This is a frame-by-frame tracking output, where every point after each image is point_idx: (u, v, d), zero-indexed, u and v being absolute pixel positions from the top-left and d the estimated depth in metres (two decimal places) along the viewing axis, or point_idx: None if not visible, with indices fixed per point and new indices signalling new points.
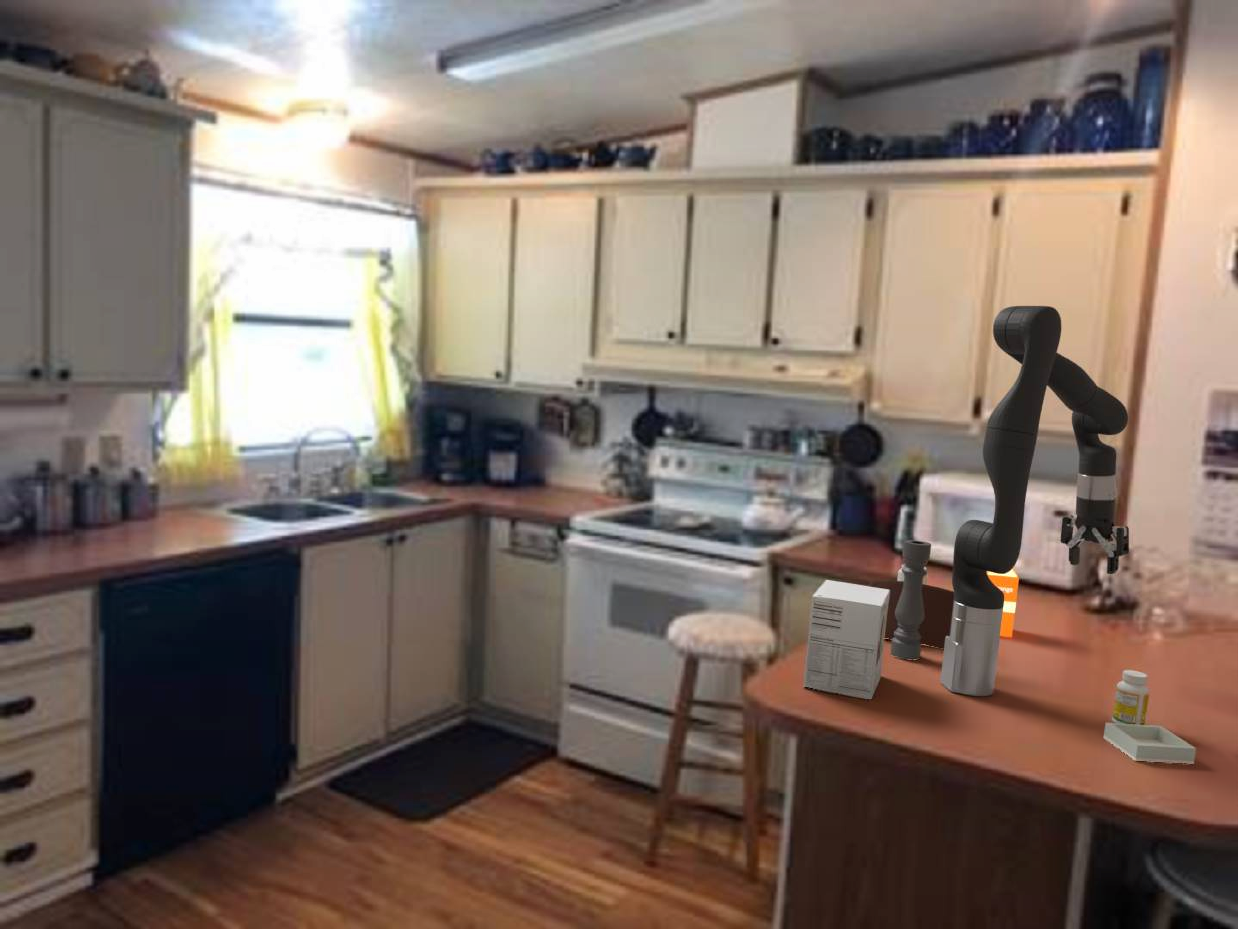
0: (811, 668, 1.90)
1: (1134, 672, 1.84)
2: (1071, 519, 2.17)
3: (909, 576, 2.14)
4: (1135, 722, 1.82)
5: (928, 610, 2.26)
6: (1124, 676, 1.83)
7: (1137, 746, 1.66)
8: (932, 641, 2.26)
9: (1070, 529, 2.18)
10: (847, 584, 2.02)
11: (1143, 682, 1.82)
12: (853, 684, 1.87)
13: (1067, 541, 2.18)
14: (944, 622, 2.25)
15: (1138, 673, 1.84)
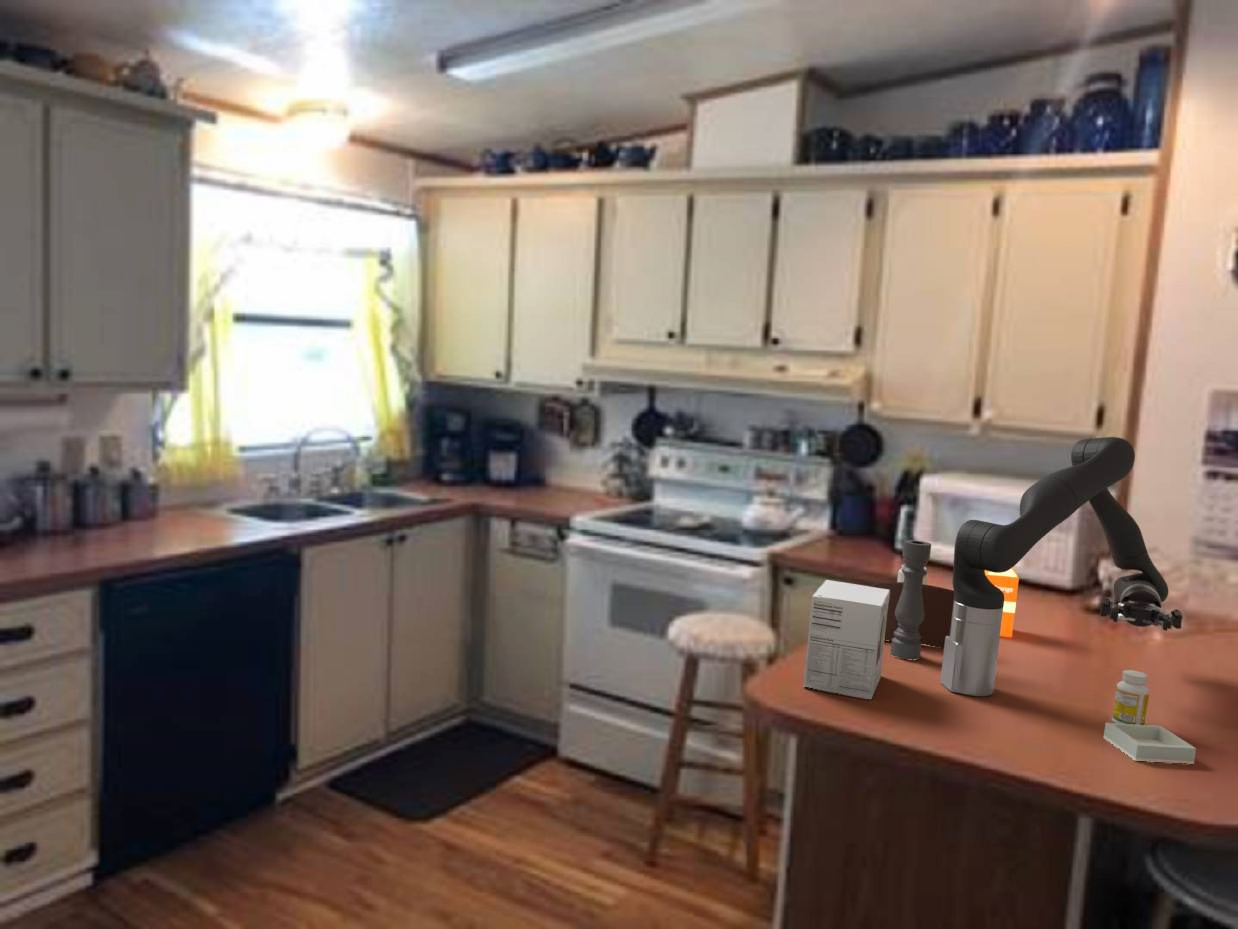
0: (811, 668, 1.90)
1: (1134, 672, 1.84)
2: None
3: (909, 576, 2.14)
4: (1135, 722, 1.82)
5: (931, 610, 2.26)
6: (1124, 676, 1.83)
7: (1137, 746, 1.66)
8: (935, 641, 2.26)
9: None
10: (847, 584, 2.02)
11: (1143, 682, 1.82)
12: (853, 684, 1.87)
13: (1108, 607, 1.99)
14: (947, 621, 2.25)
15: (1138, 673, 1.84)
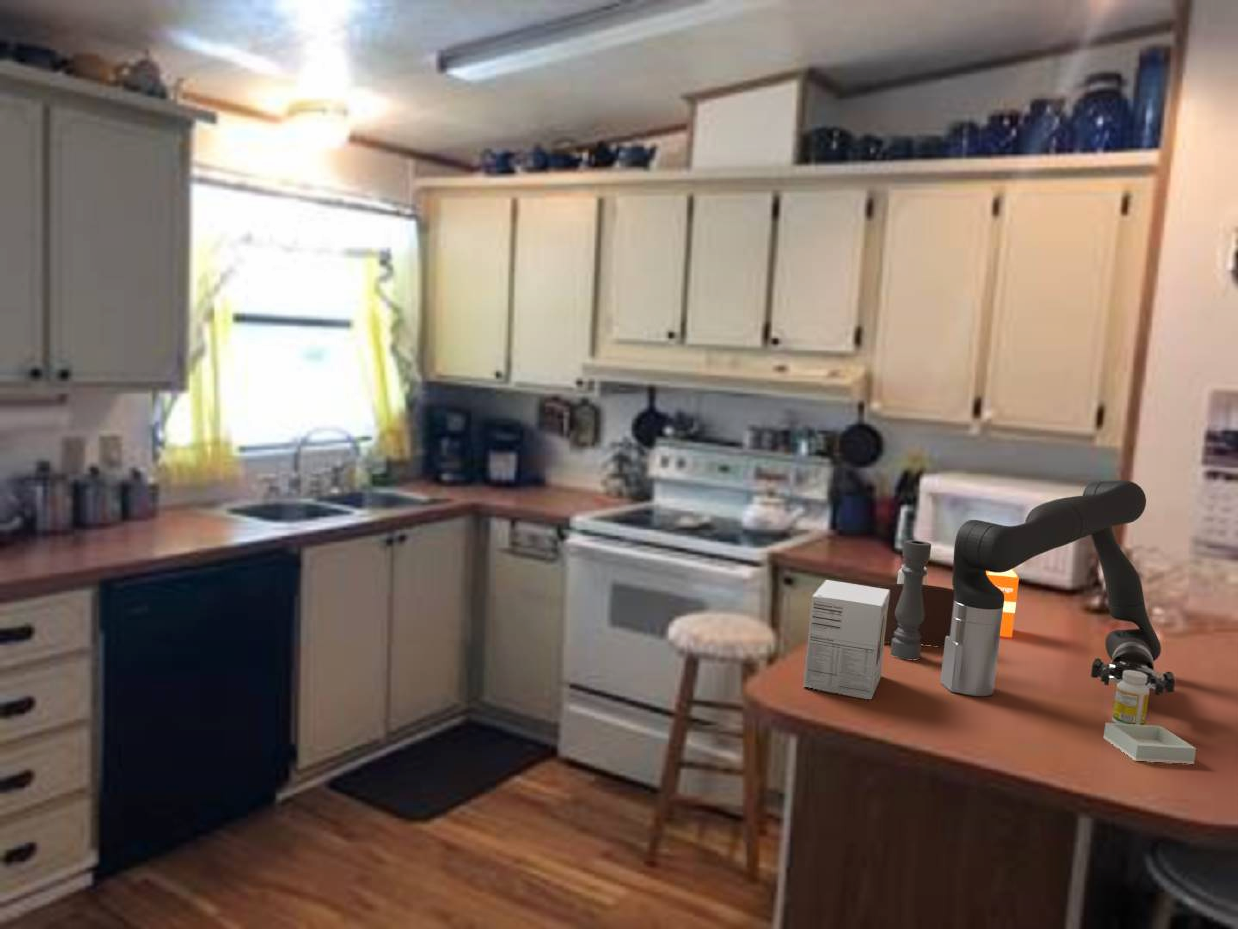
0: (811, 668, 1.90)
1: (1134, 672, 1.84)
2: (1103, 664, 1.99)
3: (909, 576, 2.14)
4: (1135, 722, 1.82)
5: (935, 611, 2.26)
6: (1124, 676, 1.83)
7: (1137, 746, 1.66)
8: (939, 641, 2.26)
9: None
10: (847, 584, 2.02)
11: (1143, 682, 1.82)
12: (853, 684, 1.87)
13: (1099, 668, 1.95)
14: (950, 621, 2.26)
15: (1138, 673, 1.84)
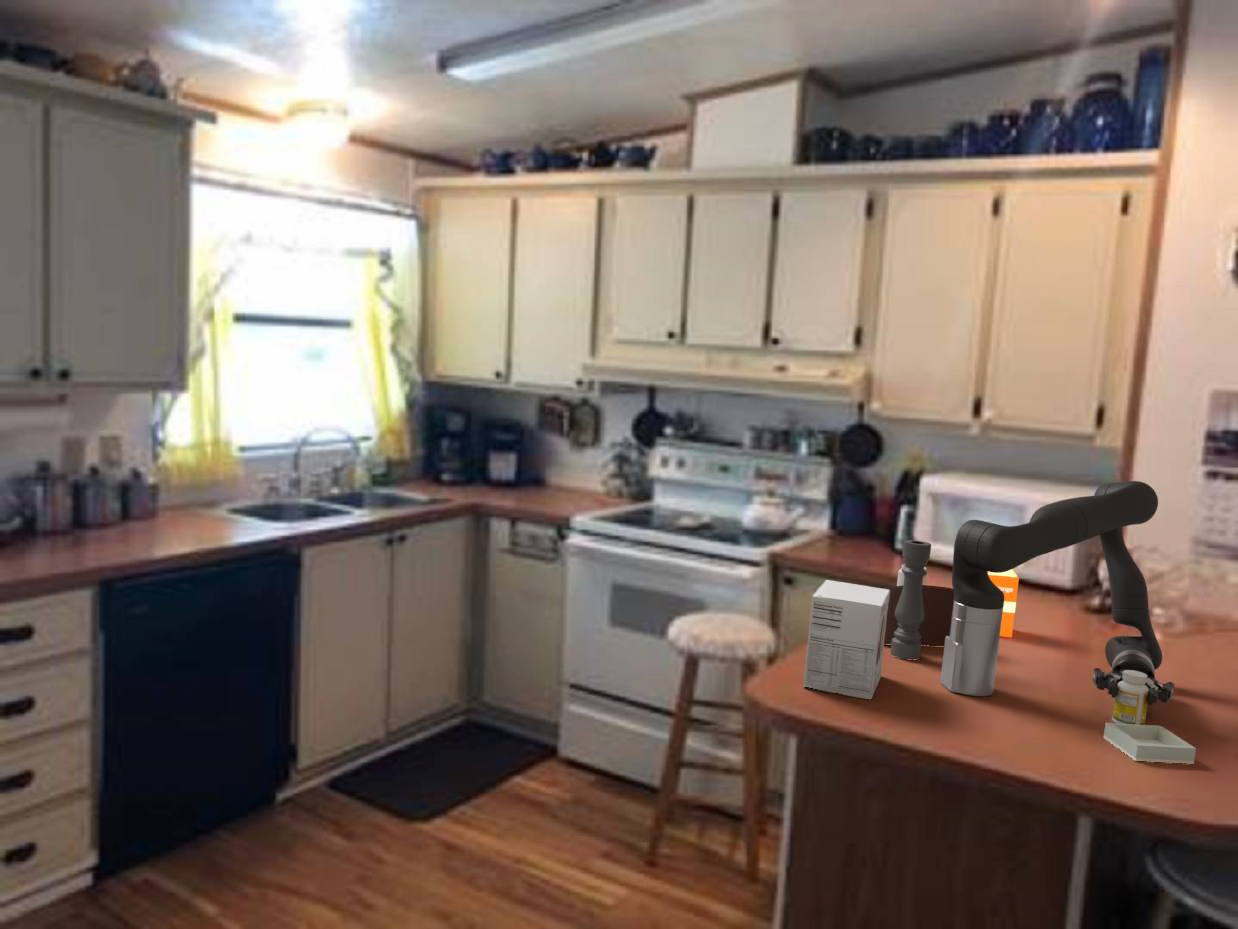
0: (811, 668, 1.90)
1: (1134, 672, 1.84)
2: None
3: (909, 576, 2.14)
4: (1135, 722, 1.82)
5: (938, 611, 2.26)
6: (1124, 676, 1.83)
7: (1137, 746, 1.66)
8: (942, 641, 2.27)
9: None
10: (847, 584, 2.02)
11: (1143, 682, 1.82)
12: (853, 684, 1.87)
13: (1106, 679, 1.88)
14: None
15: (1138, 673, 1.84)
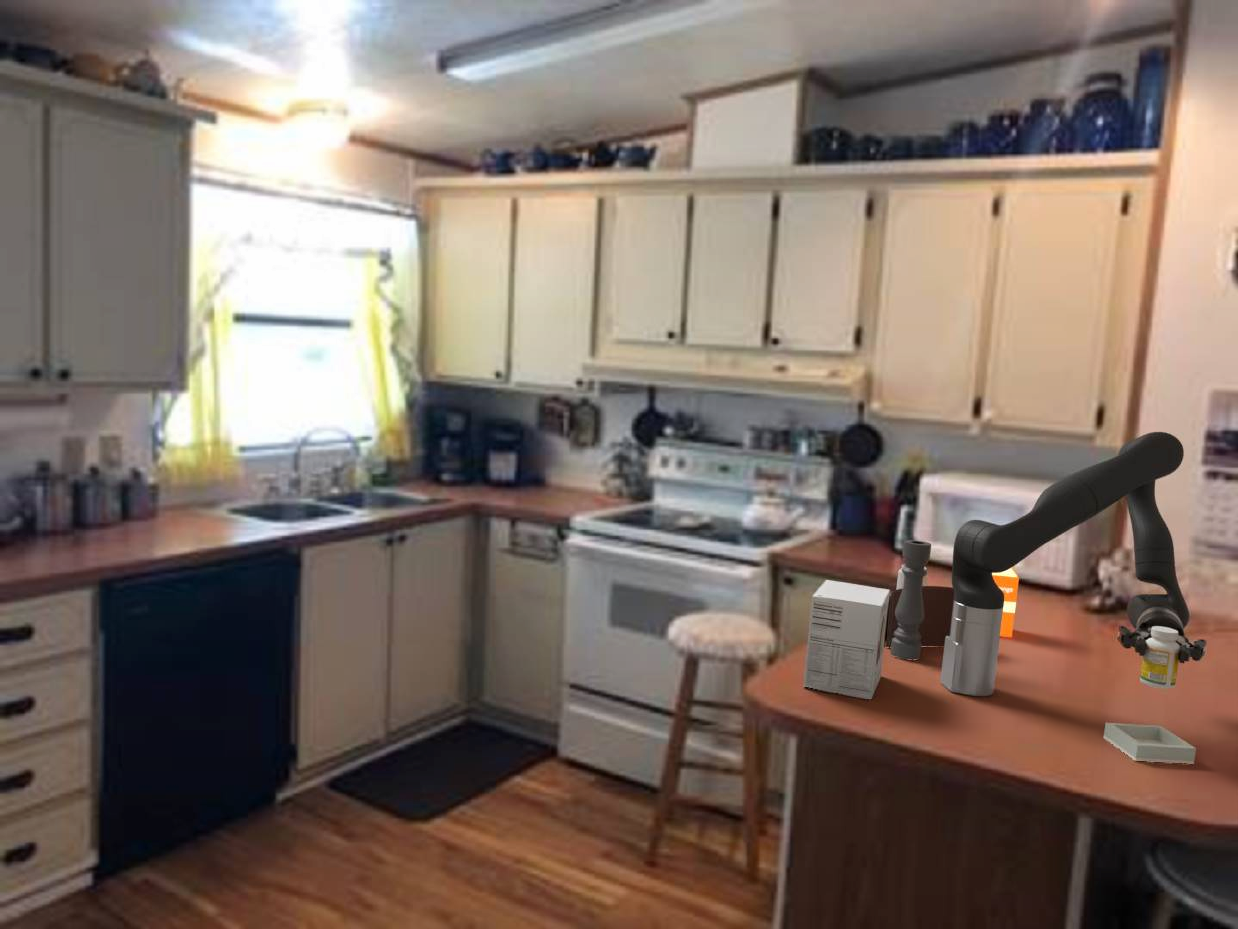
0: (810, 668, 1.90)
1: (1163, 628, 1.70)
2: None
3: (909, 576, 2.14)
4: (1166, 682, 1.67)
5: (942, 611, 2.26)
6: (1153, 632, 1.69)
7: (1137, 746, 1.66)
8: None
9: None
10: (847, 584, 2.02)
11: (1174, 638, 1.67)
12: (853, 684, 1.87)
13: (1133, 637, 1.74)
14: None
15: (1168, 629, 1.69)
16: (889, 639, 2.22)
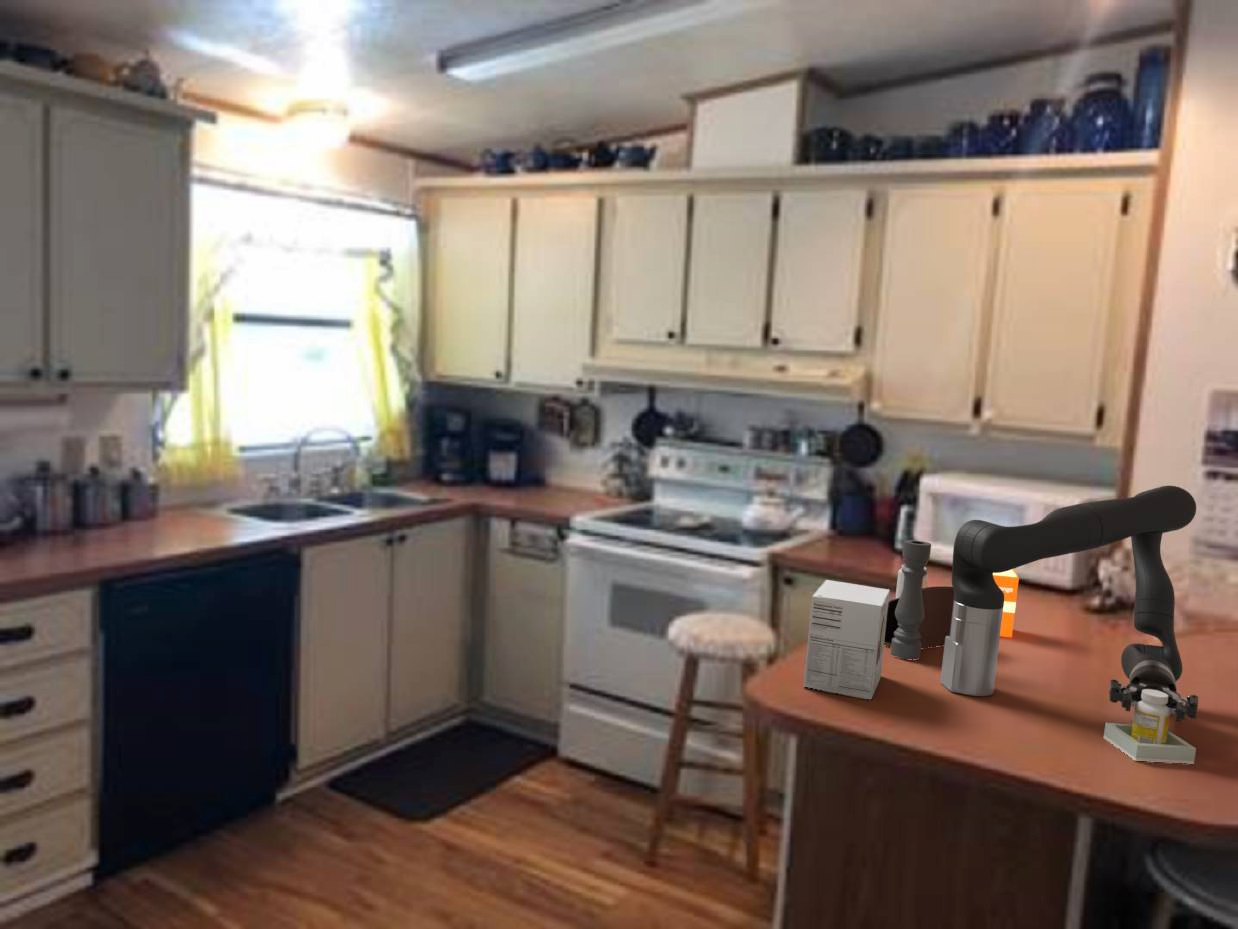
0: (811, 668, 1.90)
1: (1154, 691, 1.71)
2: (1120, 685, 1.80)
3: (909, 576, 2.14)
4: None
5: (945, 611, 2.27)
6: (1143, 696, 1.70)
7: (1137, 746, 1.66)
8: None
9: None
10: (847, 584, 2.02)
11: (1164, 702, 1.69)
12: (853, 684, 1.87)
13: (1120, 691, 1.75)
14: None
15: (1158, 692, 1.71)
16: None
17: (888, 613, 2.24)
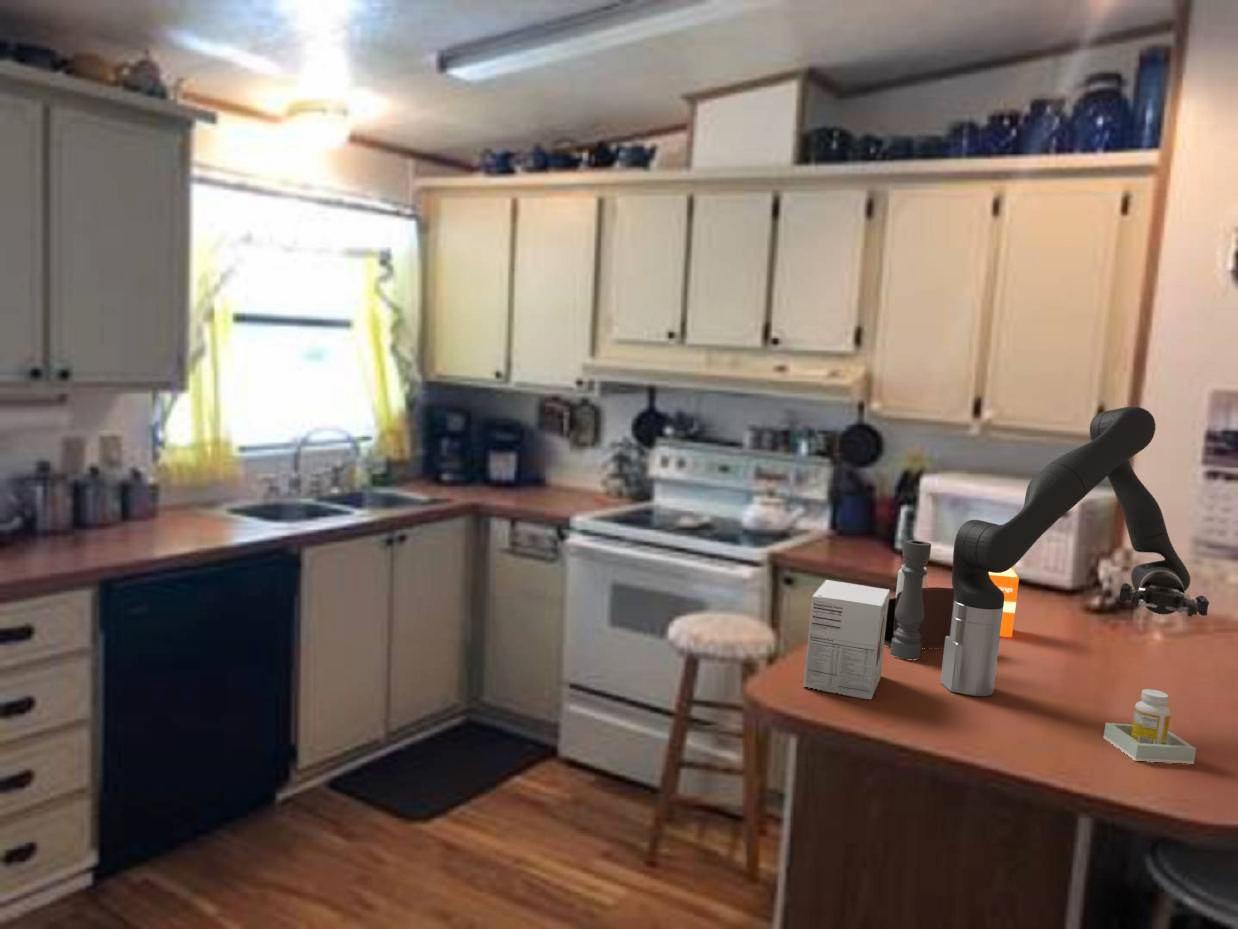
0: (811, 668, 1.90)
1: (1154, 691, 1.71)
2: (1132, 589, 1.90)
3: (909, 576, 2.14)
4: None
5: (947, 612, 2.25)
6: (1143, 696, 1.70)
7: (1137, 746, 1.66)
8: None
9: None
10: (847, 584, 2.02)
11: (1164, 702, 1.68)
12: (853, 684, 1.87)
13: (1128, 591, 1.85)
14: None
15: (1158, 692, 1.71)
16: None
17: None
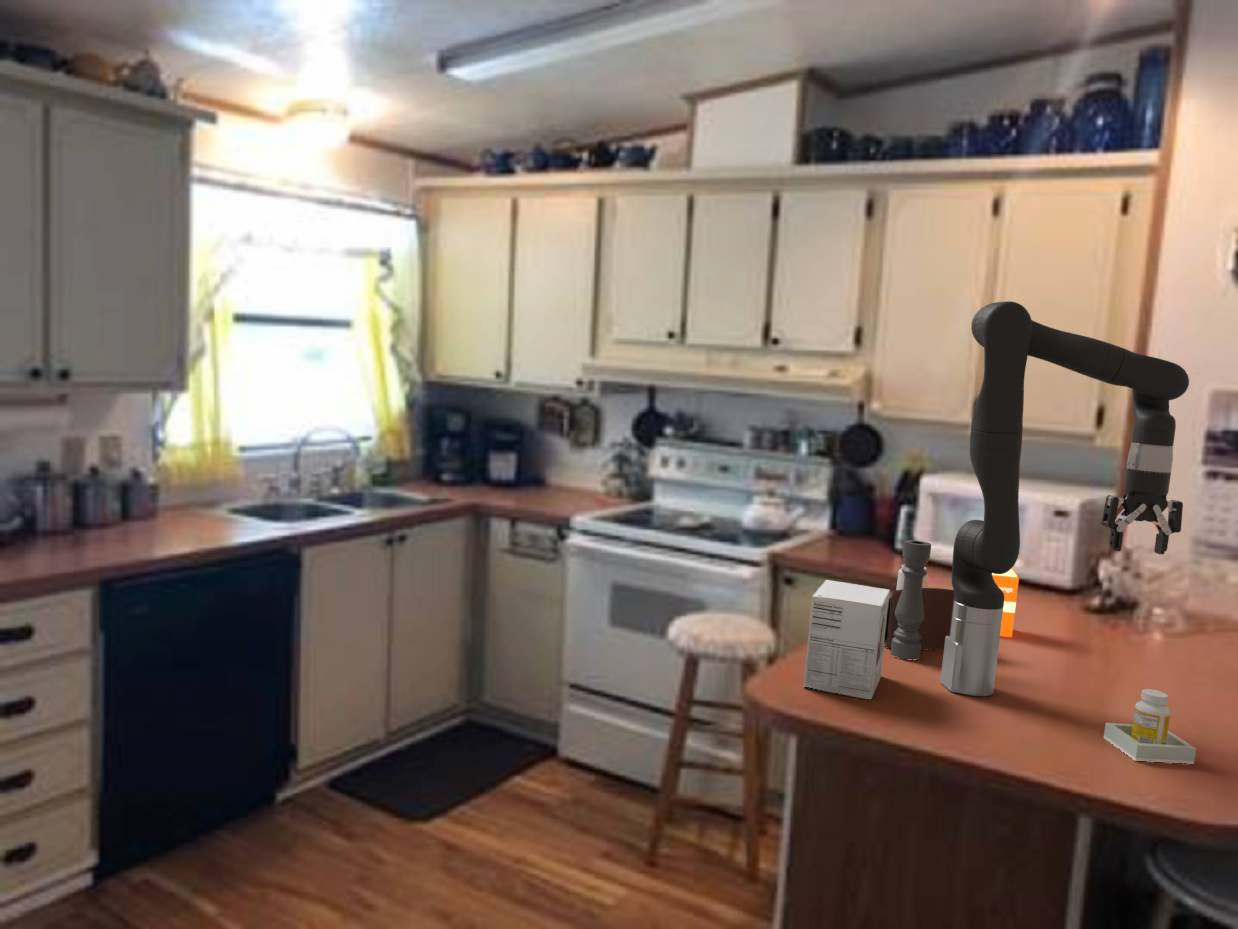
0: (811, 668, 1.90)
1: (1154, 691, 1.71)
2: (1119, 499, 1.90)
3: (909, 576, 2.14)
4: None
5: (948, 614, 2.24)
6: (1143, 696, 1.70)
7: (1137, 746, 1.66)
8: None
9: None
10: (847, 584, 2.02)
11: (1164, 702, 1.68)
12: (853, 684, 1.87)
13: (1113, 525, 1.91)
14: None
15: (1158, 692, 1.71)
16: (889, 639, 2.22)
17: None
